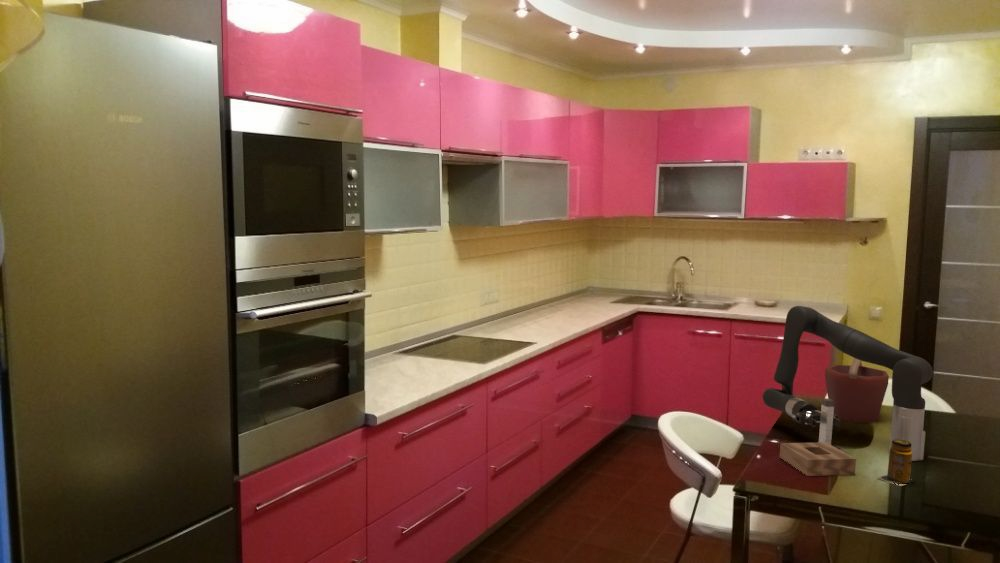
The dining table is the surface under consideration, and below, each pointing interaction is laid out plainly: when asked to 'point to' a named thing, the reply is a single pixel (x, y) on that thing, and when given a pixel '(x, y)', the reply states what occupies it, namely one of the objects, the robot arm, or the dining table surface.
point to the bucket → (856, 391)
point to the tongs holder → (817, 459)
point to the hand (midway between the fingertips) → (827, 423)
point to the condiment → (899, 462)
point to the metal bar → (826, 421)
